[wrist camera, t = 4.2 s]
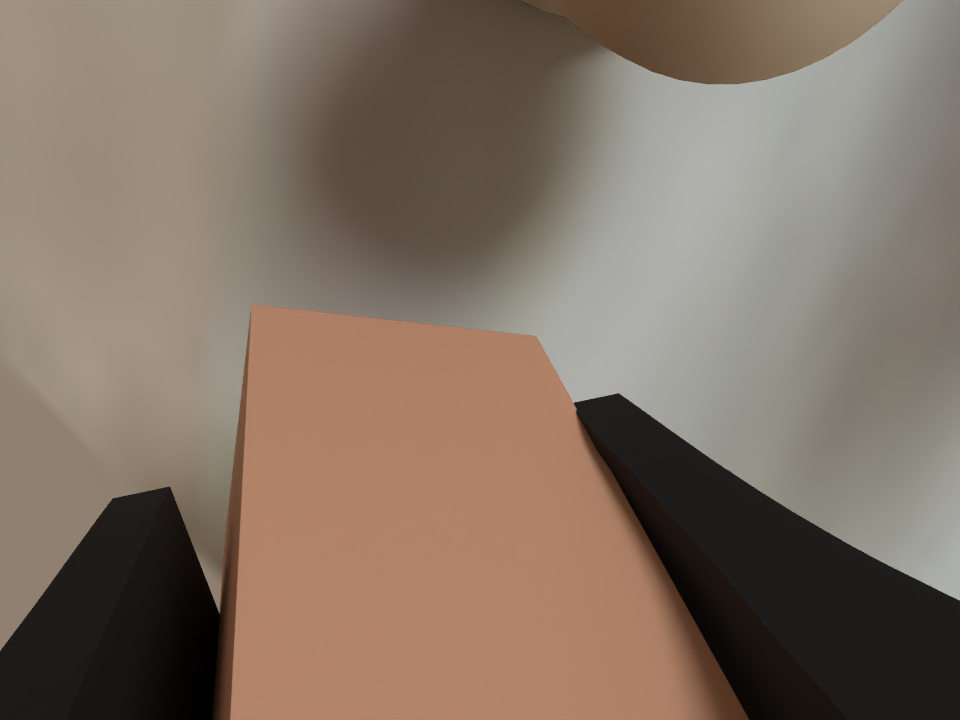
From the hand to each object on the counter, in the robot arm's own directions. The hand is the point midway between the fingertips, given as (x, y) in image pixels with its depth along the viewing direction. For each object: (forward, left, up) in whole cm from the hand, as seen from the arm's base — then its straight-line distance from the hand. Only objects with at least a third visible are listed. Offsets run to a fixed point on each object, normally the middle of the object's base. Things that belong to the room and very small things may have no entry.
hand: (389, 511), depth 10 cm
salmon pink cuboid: (0, 0, -1) cm, 1 cm away
